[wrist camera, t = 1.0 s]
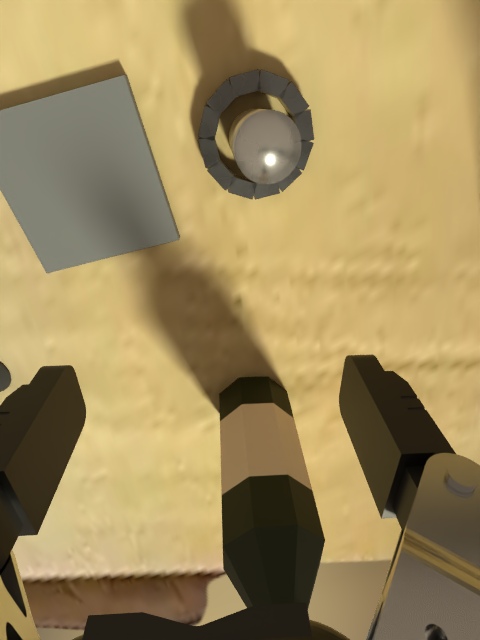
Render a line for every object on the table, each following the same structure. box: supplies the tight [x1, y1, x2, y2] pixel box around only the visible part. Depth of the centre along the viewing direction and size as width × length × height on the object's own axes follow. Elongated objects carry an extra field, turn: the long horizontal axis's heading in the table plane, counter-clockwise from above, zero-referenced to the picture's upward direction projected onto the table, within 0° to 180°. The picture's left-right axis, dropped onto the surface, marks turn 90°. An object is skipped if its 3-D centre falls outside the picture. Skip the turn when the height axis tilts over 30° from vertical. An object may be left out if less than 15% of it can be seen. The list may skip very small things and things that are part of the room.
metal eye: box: [198, 70, 314, 199], centre depth 28 cm, size 8×8×2 cm
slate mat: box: [0, 75, 180, 273], centre depth 29 cm, size 12×12×1 cm
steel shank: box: [229, 108, 301, 184], centre depth 25 cm, size 4×4×8 cm
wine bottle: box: [219, 377, 325, 610], centre depth 30 cm, size 8×8×30 cm
